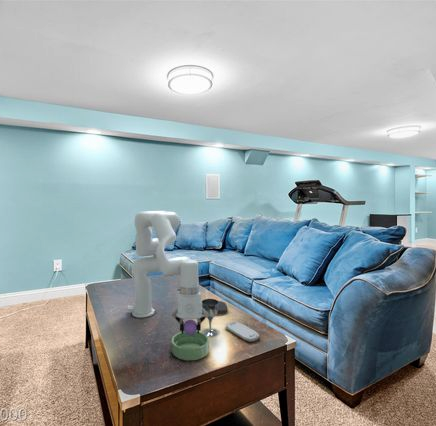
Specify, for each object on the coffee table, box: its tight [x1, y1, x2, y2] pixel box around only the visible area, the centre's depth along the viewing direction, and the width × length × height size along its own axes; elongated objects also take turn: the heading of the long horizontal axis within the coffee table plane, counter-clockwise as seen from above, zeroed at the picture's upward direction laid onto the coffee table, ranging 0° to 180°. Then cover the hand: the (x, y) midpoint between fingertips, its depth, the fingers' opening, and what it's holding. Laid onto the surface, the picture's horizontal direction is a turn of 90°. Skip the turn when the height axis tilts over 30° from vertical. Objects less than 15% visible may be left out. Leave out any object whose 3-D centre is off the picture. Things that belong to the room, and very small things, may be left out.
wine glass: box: [202, 298, 219, 337], centre depth 129 cm, size 8×8×15 cm
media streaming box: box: [216, 300, 228, 315], centre depth 157 cm, size 15×15×3 cm
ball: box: [183, 319, 197, 335], centre depth 113 cm, size 6×6×6 cm
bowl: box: [171, 331, 210, 361], centre depth 114 cm, size 16×16×5 cm
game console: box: [225, 321, 260, 343], centre depth 128 cm, size 18×2×8 cm
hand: (190, 331), depth 114 cm, fingers closed on ball, 5 cm apart
